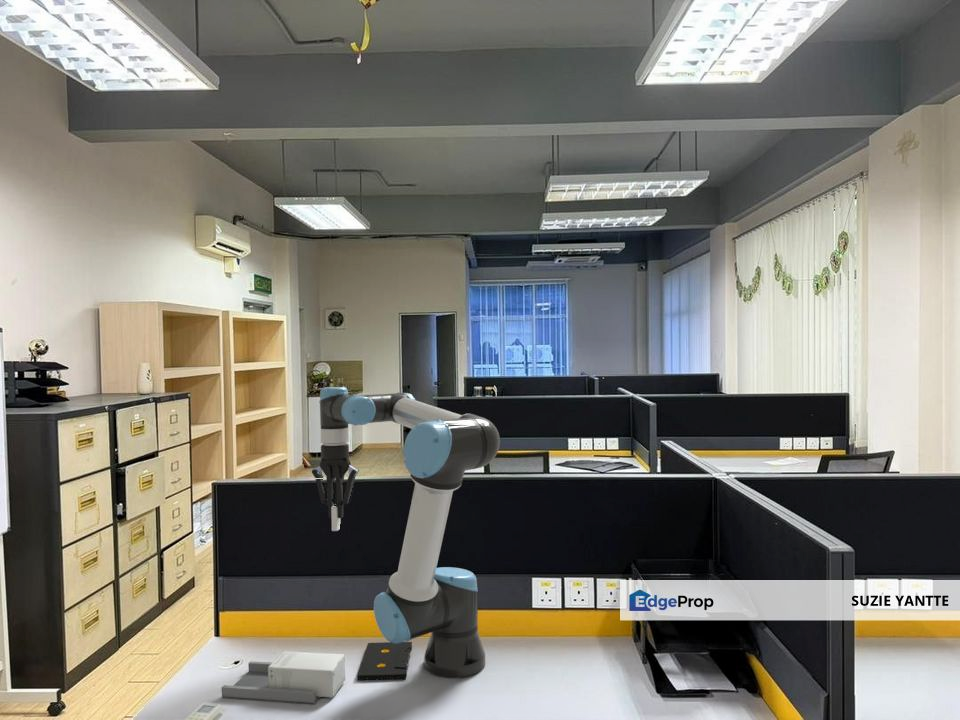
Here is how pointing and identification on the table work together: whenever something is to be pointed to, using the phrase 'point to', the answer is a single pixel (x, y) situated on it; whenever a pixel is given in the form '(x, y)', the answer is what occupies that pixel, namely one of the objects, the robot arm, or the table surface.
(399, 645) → the cassette tape
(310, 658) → the skincare box
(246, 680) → the rubber tray
